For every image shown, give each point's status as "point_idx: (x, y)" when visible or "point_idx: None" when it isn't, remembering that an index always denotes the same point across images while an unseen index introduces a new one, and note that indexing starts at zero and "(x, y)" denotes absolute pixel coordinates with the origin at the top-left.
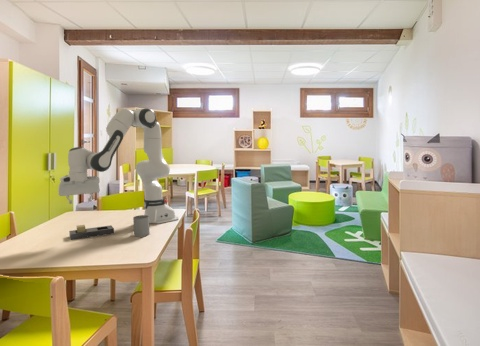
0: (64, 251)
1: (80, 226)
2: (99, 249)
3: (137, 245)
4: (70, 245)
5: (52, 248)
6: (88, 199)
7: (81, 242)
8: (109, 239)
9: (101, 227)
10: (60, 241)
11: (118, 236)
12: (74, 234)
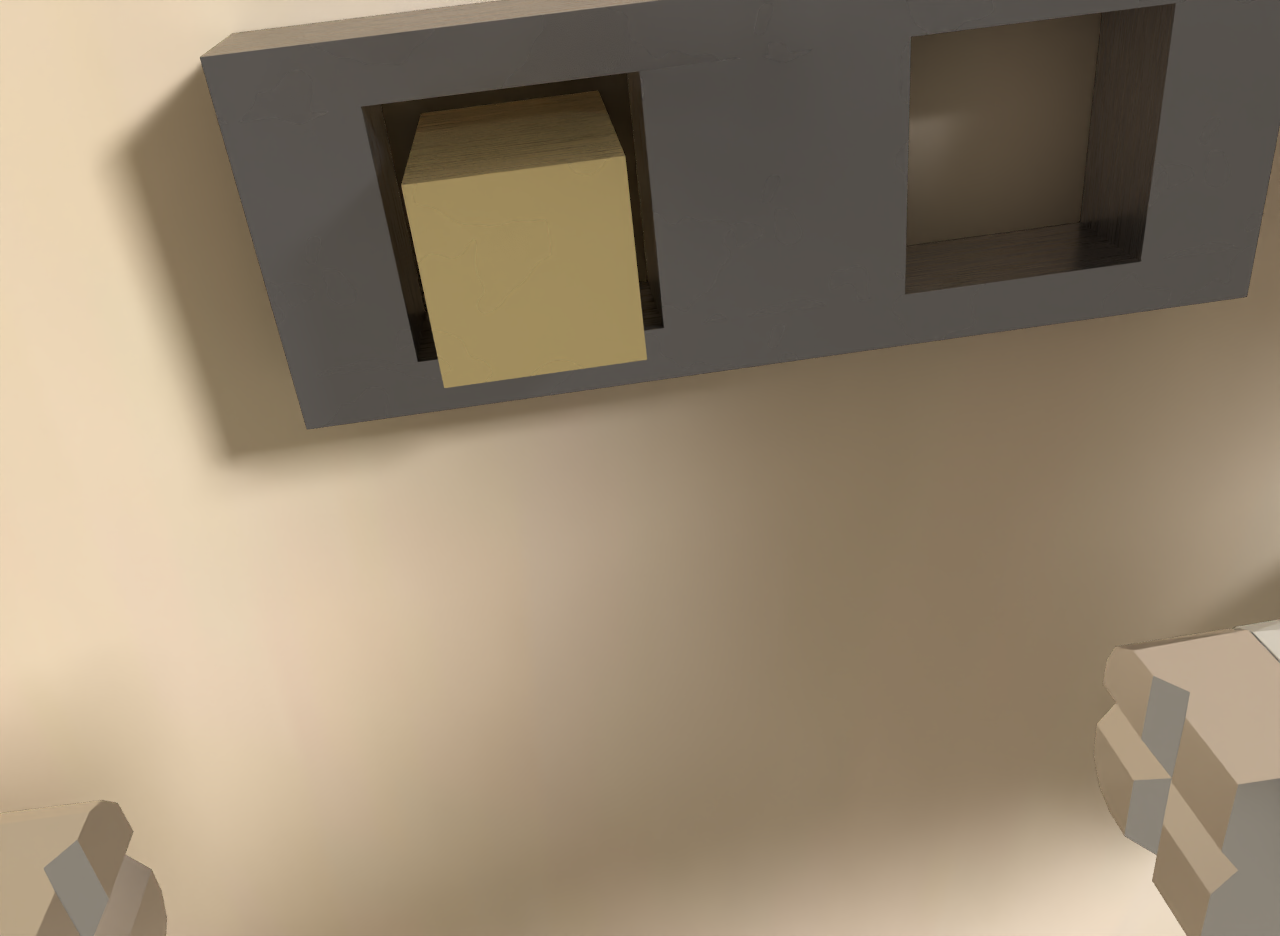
0: (338, 889)
1: (524, 332)
2: (784, 931)
3: None
4: (378, 679)
5: (107, 731)
6: (1174, 890)
7: (545, 588)
8: (996, 586)
9: (1036, 19)
10: (124, 389)
11: (1177, 474)
12: (393, 409)
